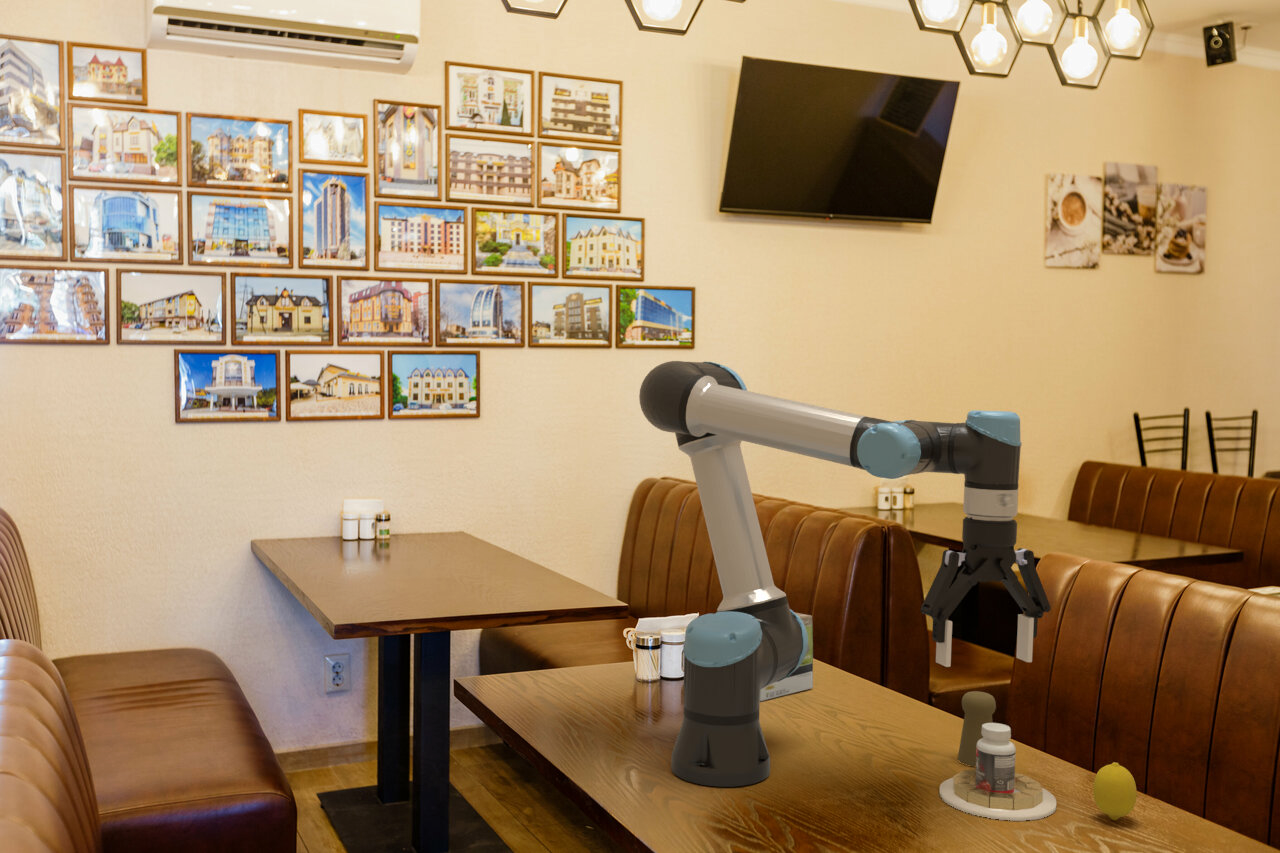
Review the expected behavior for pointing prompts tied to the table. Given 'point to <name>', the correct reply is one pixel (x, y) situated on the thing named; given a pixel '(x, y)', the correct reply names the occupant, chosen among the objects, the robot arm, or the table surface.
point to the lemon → (1114, 791)
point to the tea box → (801, 675)
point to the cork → (974, 723)
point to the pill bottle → (995, 759)
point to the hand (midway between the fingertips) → (984, 662)
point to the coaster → (1013, 815)
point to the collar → (1007, 801)
